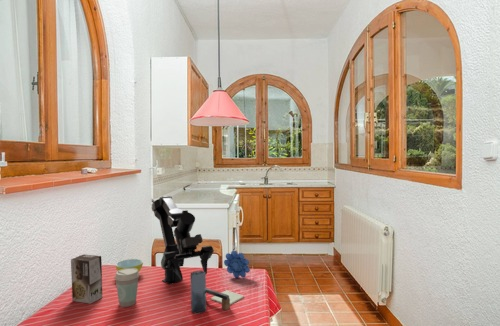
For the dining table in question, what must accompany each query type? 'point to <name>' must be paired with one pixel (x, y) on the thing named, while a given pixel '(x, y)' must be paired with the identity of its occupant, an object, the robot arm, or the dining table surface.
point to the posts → (225, 304)
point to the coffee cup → (127, 286)
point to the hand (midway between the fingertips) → (194, 276)
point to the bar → (217, 294)
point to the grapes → (236, 264)
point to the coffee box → (86, 278)
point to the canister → (198, 292)
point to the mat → (232, 296)
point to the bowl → (129, 264)
